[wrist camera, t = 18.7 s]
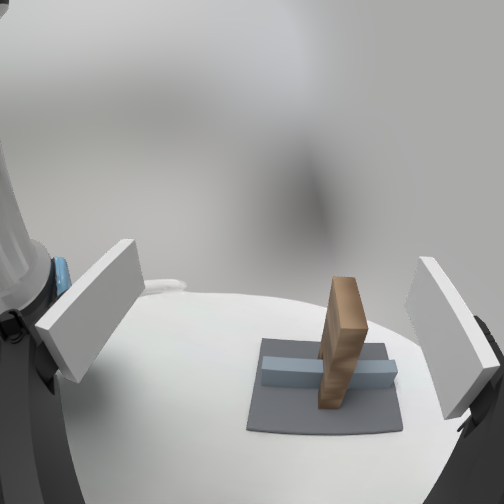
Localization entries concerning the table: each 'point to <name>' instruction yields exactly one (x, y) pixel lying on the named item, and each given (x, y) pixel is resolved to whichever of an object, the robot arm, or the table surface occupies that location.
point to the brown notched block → (341, 341)
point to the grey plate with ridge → (307, 386)
